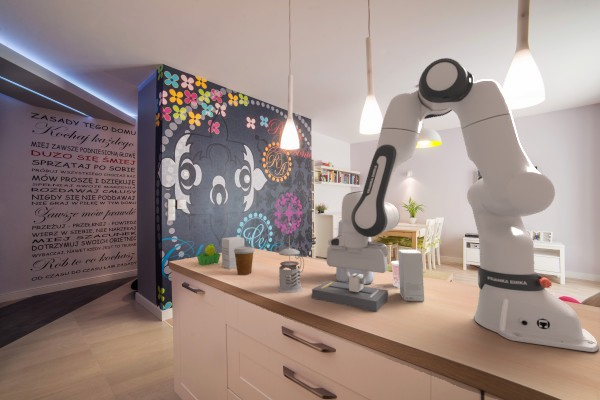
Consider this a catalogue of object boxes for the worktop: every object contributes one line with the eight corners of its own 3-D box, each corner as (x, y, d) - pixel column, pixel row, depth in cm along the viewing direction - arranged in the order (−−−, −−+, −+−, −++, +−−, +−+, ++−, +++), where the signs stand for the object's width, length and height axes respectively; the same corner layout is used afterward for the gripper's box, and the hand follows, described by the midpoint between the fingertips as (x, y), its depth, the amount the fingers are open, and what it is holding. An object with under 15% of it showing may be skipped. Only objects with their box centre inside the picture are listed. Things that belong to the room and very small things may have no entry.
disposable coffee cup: (233, 271, 127) (233, 246, 127) (253, 270, 130) (253, 245, 130) (234, 276, 118) (234, 249, 118) (256, 274, 121) (255, 248, 121)
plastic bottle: (373, 285, 102) (371, 213, 103) (334, 282, 107) (333, 213, 107) (374, 275, 116) (373, 212, 117) (340, 273, 121) (339, 212, 122)
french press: (271, 288, 100) (270, 222, 101) (294, 282, 108) (294, 221, 108) (287, 295, 93) (286, 223, 93) (311, 288, 100) (310, 222, 101)
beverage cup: (411, 288, 99) (410, 250, 99) (394, 288, 99) (393, 250, 99) (404, 283, 105) (404, 247, 105) (389, 283, 105) (388, 248, 105)
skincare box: (424, 302, 84) (423, 253, 85) (402, 301, 86) (401, 252, 86) (418, 293, 93) (417, 249, 93) (398, 292, 94) (397, 248, 94)
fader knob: (363, 288, 88) (363, 274, 89) (358, 292, 84) (357, 277, 84) (354, 286, 90) (354, 272, 90) (349, 290, 86) (348, 276, 86)
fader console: (387, 299, 87) (387, 289, 88) (376, 311, 77) (376, 300, 78) (328, 288, 100) (328, 279, 100) (312, 298, 90) (312, 288, 90)
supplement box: (237, 263, 144) (237, 236, 144) (245, 266, 137) (245, 237, 138) (221, 266, 138) (221, 237, 139) (228, 269, 131) (228, 239, 132)
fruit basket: (216, 261, 153) (216, 241, 153) (222, 263, 146) (222, 243, 146) (195, 264, 145) (195, 243, 146) (201, 266, 138) (201, 245, 139)
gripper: (390, 241, 84) (390, 285, 84) (332, 237, 96) (332, 276, 95) (384, 244, 79) (385, 290, 79) (324, 239, 90) (324, 280, 90)
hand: (356, 282), depth 87 cm, fingers closed on fader knob, 3 cm apart
